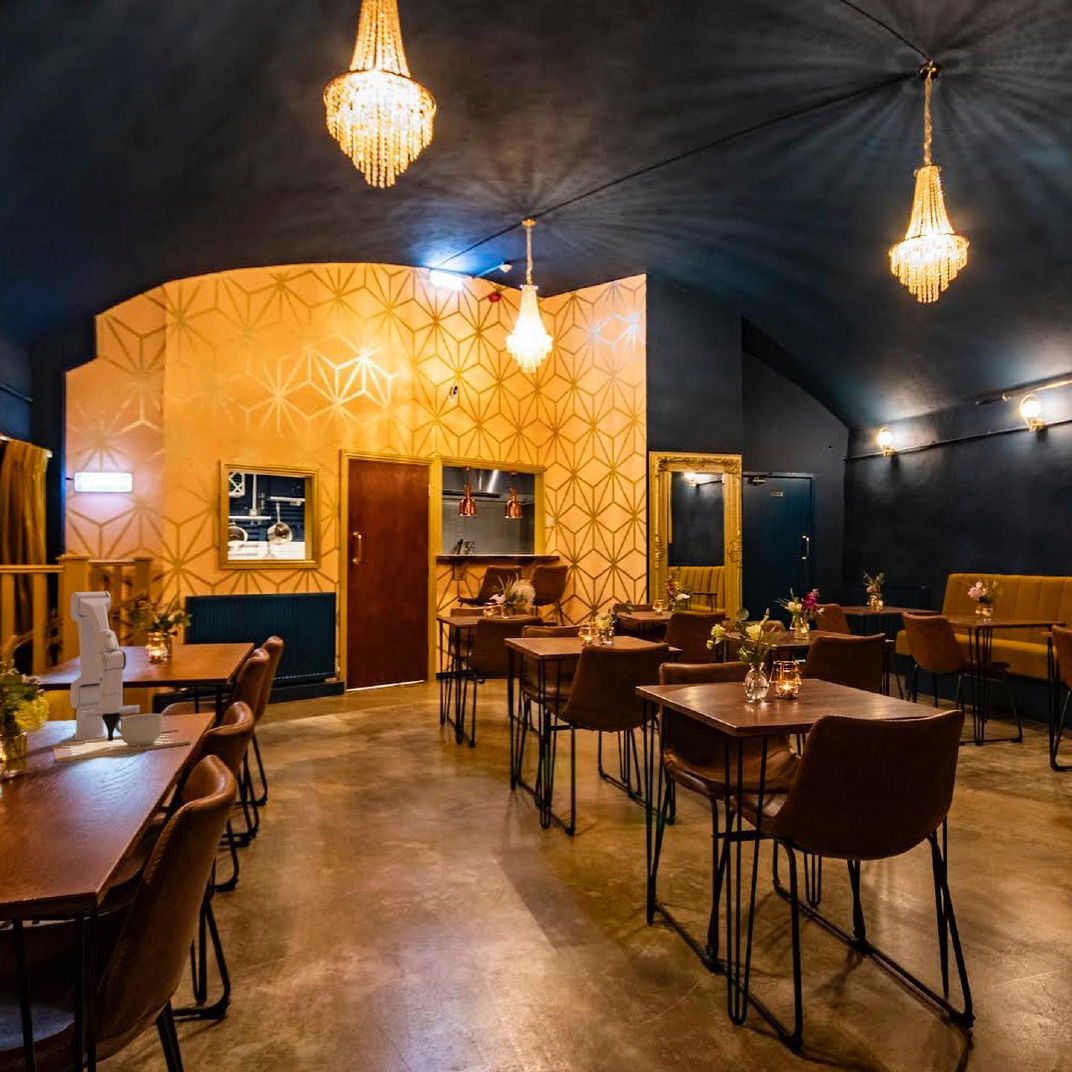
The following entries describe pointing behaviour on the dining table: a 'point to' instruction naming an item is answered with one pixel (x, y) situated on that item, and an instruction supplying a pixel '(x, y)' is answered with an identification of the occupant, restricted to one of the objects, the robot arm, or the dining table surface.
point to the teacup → (140, 729)
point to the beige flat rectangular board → (103, 751)
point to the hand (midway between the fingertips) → (110, 740)
